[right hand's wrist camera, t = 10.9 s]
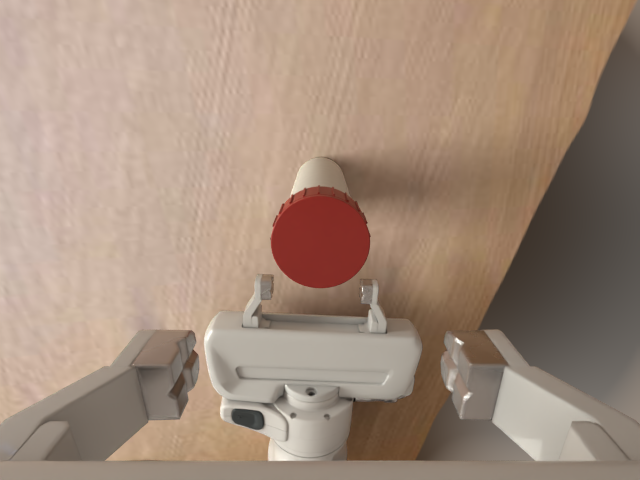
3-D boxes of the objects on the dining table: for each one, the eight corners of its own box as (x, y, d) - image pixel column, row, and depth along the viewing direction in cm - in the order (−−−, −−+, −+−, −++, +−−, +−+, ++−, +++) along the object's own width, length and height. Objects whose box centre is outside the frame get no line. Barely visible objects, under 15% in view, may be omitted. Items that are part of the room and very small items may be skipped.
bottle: (323, 146, 32) (325, 182, 18) (353, 184, 33) (380, 245, 19) (286, 178, 33) (260, 237, 19) (317, 213, 35) (316, 294, 20)
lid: (326, 164, 19) (326, 172, 17) (384, 234, 21) (392, 249, 18) (255, 224, 20) (248, 239, 18) (315, 286, 22) (315, 306, 20)
